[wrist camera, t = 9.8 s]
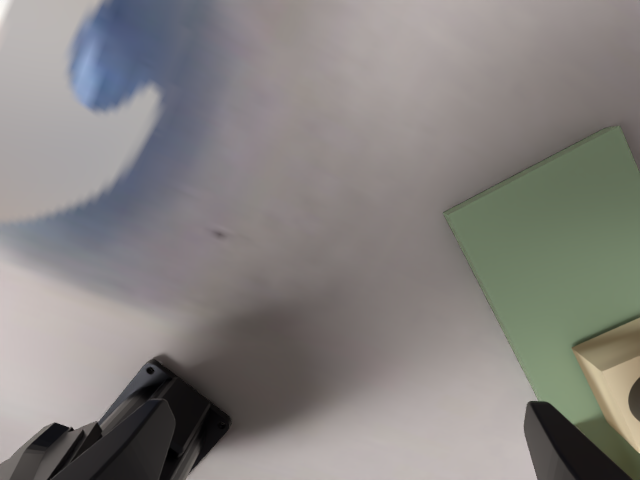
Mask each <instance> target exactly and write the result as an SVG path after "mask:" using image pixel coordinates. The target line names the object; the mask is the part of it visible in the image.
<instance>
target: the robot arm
mask: <svg viewBox="0 0 640 480" xmlns="http://www.w3.org/2000/svg"><path fill="white" fill-rule="evenodd" d="M150 367H152V368H153V369H154V371H152V370H151V369H150ZM220 422H223V423H225V425H222V424H221V423H220ZM230 425H231V419H230V417H229V416H228V415H226V414H225V413H224V412H223V411H221V410H220V409H219V408H217V407H216V406H215V405H214V404H212V403H211V402H210V401H208V400H207V399H206V398H204V397H203V396H202V395H201V394H199V393H198V392H197V391H195V390H194V389H193V388H192V387H190V386H189V385H188V384H186V383H185V382H184V381H182V380H181V379H180V378H179V377H177V376H176V375H175V374H173V373H172V372H171V371H170V370H168V369H167V368H166V367H164V366H163V365H162V364H160V363H159V362H158V361H156V360H150V361H148V362H147V363H146V364H145V365H144V366H143V367H142V368H141V370H140V371H139V372H138V373H137V375H136V376H135V377H134V378H133V380H132V381H131V382H130V383H129V385H128V386H127V387H126V388H125V390H124V391H123V392H122V393H121V395H120V396H119V397H118V398H117V400H116V401H115V402H114V403H113V405H112V406H111V407H110V408H109V410H108V411H107V412H106V413H105V415H104V416H103V417H102V418H101V419H100V421H99V422H97V421H95V422H93V423H90V424H88V425H86V426H83V427H81V428H79V429H76V430H74V429H73V428H72V427H70V428H69V427H66V426H63V425H61V424H58V423H53V424H50V425H48V426H46V427H44V428H43V429H41V430H40V431H39V432H38V433H37V434H36V435H34V436H33V437H32V438H31V439H30V440H29V441H27V442H26V443H25V444H24V445H23V446H22V447H21V448H19V449H18V450H17V451H16V452H15V453H14V454H13V455H12V457H11V458H10V459H8V460H6V461H4V462H3V463H1V464H0V480H186V478H187V476H188V474H189V473H190V472H191V471H192V469H193V468H194V467H195V466H196V465H197V464H198V463H199V462H200V461H201V459H202V458H203V457H204V456H205V455H206V454H207V453H208V452H209V451H210V450H211V448H212V447H213V446H214V445H215V444H216V443H217V442H218V441H219V440H220V439H221V437H222V436H223V435H224V434H225V433H226V432H227V431H228V429H229V427H230ZM524 433H525V437H526V441H527V444H528V448H529V451H530V455H531V458H532V462H533V465H534V469H535V472H536V476H537V479H538V480H633V479H632V478H631V477H630V476H629V475H628V474H627V473H625V472H624V471H623V470H622V469H621V468H620V467H619V466H618V465H617V464H616V463H615V462H614V461H612V460H611V459H610V458H609V457H608V456H607V455H606V454H605V453H604V452H603V451H602V450H600V449H599V448H598V447H597V446H596V445H595V444H594V443H593V442H592V441H591V440H590V439H589V438H587V437H586V436H585V435H584V434H583V433H582V432H581V431H580V430H579V429H578V428H577V427H576V426H574V425H573V424H572V423H571V422H570V421H569V420H568V419H567V418H566V417H565V416H564V415H562V414H561V413H560V412H559V411H558V410H557V409H556V408H555V407H554V406H553V405H552V404H550V403H549V402H546V401H529V402H528V403H527V407H526V414H525V420H524Z"/></svg>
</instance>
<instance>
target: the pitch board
mask: <svg viewBox="0 0 640 480" xmlns="http://www.w3.org/2000/svg"><path fill="white" fill-rule="evenodd" d="M443 214H444V216H445V218H446V220H447V222H448V224H449V226H450V228H451V230H452V232H453V234H454V235H455V237H456V239H457V241H458V243H459V245H460V247H461V249H462V251H463V253H464V255H465V257H466V259H467V261H468V263H469V265H470V267H471V269H472V271H473V273H474V275H475V277H476V279H477V281H478V283H479V285H480V287H481V289H482V290H483V292H484V294H485V296H486V298H487V300H488V302H489V304H490V306H491V308H492V310H493V312H494V314H495V316H496V318H497V320H498V322H499V324H500V326H501V328H502V330H503V332H504V334H505V336H506V338H507V340H508V342H509V344H510V345H511V347H512V349H513V351H514V353H515V355H516V357H517V359H518V361H519V363H520V365H521V367H522V369H523V371H524V373H525V375H526V377H527V379H528V381H529V383H530V385H531V387H532V389H533V391H534V393H535V395H536V397H537V399H538V400H539V401H546V402H549V403H550V404H552V405H553V406H554V407H555V408H556V409H557V410H558V411H559V412H560V413H561V414H562V415H564V416H565V417H566V418H567V419H568V420H569V421H570V422H571V423H572V424H573V425H574V426H577V427H578V428H579V429H580V430H581V431H582V432H583V433H584V434H585V436H586V437H587V438H589V439H590V440H591V441H592V442H593V443H594V444H595V445H596V446H597V447H598V448H599V449H600V450H602V451H603V452H604V453H605V454H606V455H607V456H608V457H609V458H610V459H611V460H612V461H614V462H615V463H616V464H617V465H618V466H619V467H620V468H621V469H622V470H623V471H624V472H625V473H627V474H628V475H629V476H630V477H631V478H632V479H633V480H640V453H638V452H637V451H636V450H635V449H634V448H633V447H632V446H631V445H630V444H629V443H628V442H627V441H626V440H625V439H624V438H623V437H622V436H621V435H620V434H619V433H618V432H617V431H616V430H615V429H613V428H612V427H611V426H610V425H609V424H608V423H607V421H606V419H605V417H604V415H603V412H602V410H601V408H600V406H599V404H598V402H597V400H596V398H595V396H594V394H593V392H592V390H591V388H590V386H589V384H588V381H587V379H586V377H585V375H584V373H583V371H582V369H581V367H580V365H579V363H578V361H577V359H576V357H575V355H574V353H573V350H572V347H574V346H576V345H579V344H581V343H583V342H585V341H588V340H590V339H592V338H595V337H597V336H599V335H601V334H604V333H606V332H608V331H610V330H613V329H615V328H617V327H620V326H622V325H624V324H626V323H629V322H631V321H633V320H635V319H638V318H640V172H639V170H638V167H637V165H636V163H635V160H634V158H633V156H632V153H631V151H630V149H629V146H628V144H627V141H626V139H625V137H624V134H623V132H622V130H621V127H620V126H614V127H608V128H604V129H602V130H600V131H599V132H597V133H595V134H593V135H591V136H589V137H587V138H585V139H583V140H581V141H579V142H577V143H576V144H574V145H572V146H570V147H568V148H566V149H564V150H562V151H560V152H558V153H556V154H554V155H553V156H551V157H549V158H547V159H545V160H543V161H541V162H539V163H537V164H535V165H533V166H532V167H530V168H528V169H526V170H524V171H522V172H520V173H518V174H516V175H514V176H512V177H510V178H509V179H507V180H505V181H503V182H501V183H499V184H497V185H495V186H493V187H491V188H489V189H487V190H486V191H484V192H482V193H480V194H478V195H476V196H474V197H472V198H470V199H468V200H466V201H465V202H463V203H461V204H459V205H457V206H455V207H453V208H451V209H449V210H447V211H445V212H443Z"/></svg>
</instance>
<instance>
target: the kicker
mask: <svg viewBox="0 0 640 480" xmlns="http://www.w3.org/2000/svg"><path fill="white" fill-rule="evenodd" d="M572 350H573V353H574V355H575V357H576V359H577V361H578V363H579V365H580V367H581V369H582V371H583V373H584V375H585V377H586V379H587V381H588V384H589V386H590V388H591V390H592V392H593V394H594V396H595V398H596V400H597V402H598V404H599V406H600V408H601V410H602V412H603V415H604V417H605V419H606V421H607V423H608V424H609V425H610V426H611V427H612V428H613V429H615V430H616V431H617V432H618V433H619V434H620V435H621V436H622V437H623V438H624V439H625V440H626V441H627V442H628V443H629V444H630V445H631V446H632V447H633V448H634V449H635V450H636V451H637V452H638V453H640V318H638V319H635V320H633V321H631V322H629V323H626V324H624V325H622V326H620V327H617V328H615V329H613V330H610V331H608V332H606V333H604V334H601V335H599V336H597V337H595V338H592V339H590V340H588V341H585V342H583V343H581V344H579V345H576V346H574V347H572Z"/></svg>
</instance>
